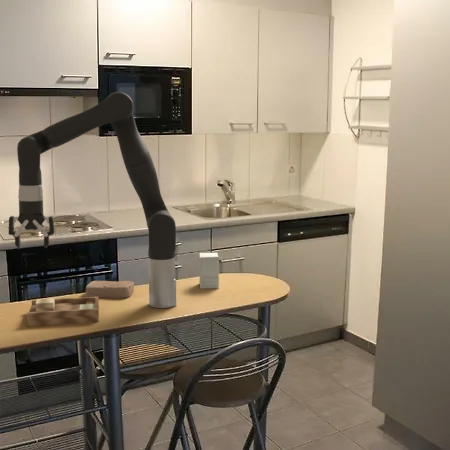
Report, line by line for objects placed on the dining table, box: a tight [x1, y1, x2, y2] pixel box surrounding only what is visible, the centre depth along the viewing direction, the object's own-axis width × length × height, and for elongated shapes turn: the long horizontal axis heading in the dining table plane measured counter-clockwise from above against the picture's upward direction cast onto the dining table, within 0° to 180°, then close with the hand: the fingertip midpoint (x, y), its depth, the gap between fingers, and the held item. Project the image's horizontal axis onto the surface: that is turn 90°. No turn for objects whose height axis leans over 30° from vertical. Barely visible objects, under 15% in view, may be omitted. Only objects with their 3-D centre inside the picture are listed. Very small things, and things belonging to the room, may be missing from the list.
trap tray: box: [26, 296, 100, 327], centre depth 202 cm, size 22×14×4 cm, turn 101°
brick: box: [85, 280, 135, 299], centre depth 228 cm, size 17×8×5 cm, turn 84°
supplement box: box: [198, 252, 220, 289], centre depth 238 cm, size 7×7×13 cm
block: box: [36, 298, 55, 312], centre depth 201 cm, size 6×4×3 cm
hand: (32, 247), depth 202 cm, fingers open, 8 cm apart
